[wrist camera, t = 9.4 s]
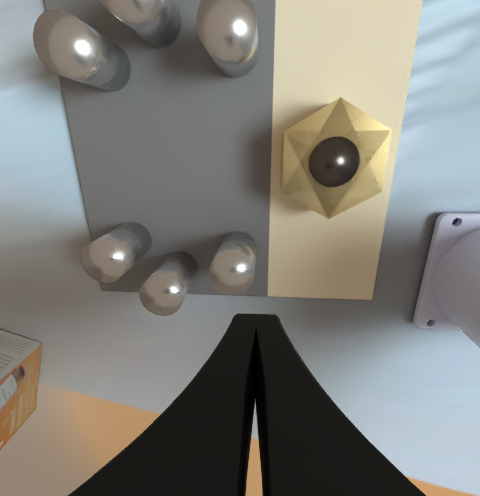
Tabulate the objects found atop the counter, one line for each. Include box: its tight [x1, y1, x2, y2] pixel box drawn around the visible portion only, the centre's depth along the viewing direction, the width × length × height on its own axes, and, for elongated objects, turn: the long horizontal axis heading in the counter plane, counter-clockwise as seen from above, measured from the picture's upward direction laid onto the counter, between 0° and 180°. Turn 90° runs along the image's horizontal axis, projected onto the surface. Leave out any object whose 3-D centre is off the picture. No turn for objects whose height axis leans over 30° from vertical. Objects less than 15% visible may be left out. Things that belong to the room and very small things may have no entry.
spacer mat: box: [44, 0, 423, 300], centre depth 17 cm, size 19×18×1 cm
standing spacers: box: [33, 0, 259, 316], centre depth 15 cm, size 9×16×4 cm, turn 1°
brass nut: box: [280, 97, 392, 219], centre depth 15 cm, size 5×6×3 cm
